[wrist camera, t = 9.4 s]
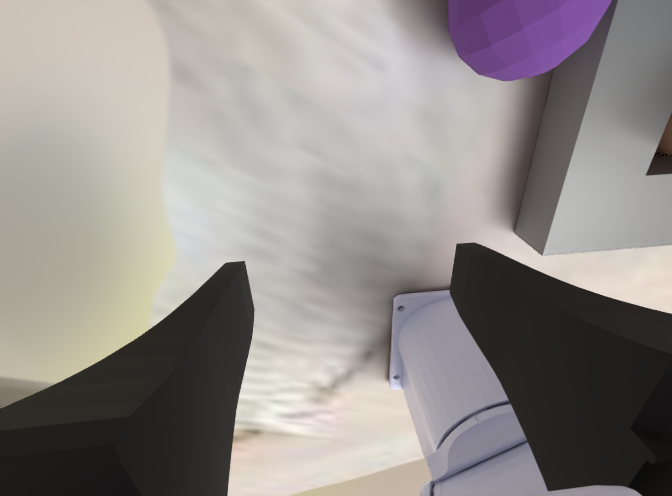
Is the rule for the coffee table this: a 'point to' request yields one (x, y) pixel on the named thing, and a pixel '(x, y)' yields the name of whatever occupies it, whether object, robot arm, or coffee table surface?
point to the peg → (666, 139)
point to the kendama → (520, 33)
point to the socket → (605, 140)
